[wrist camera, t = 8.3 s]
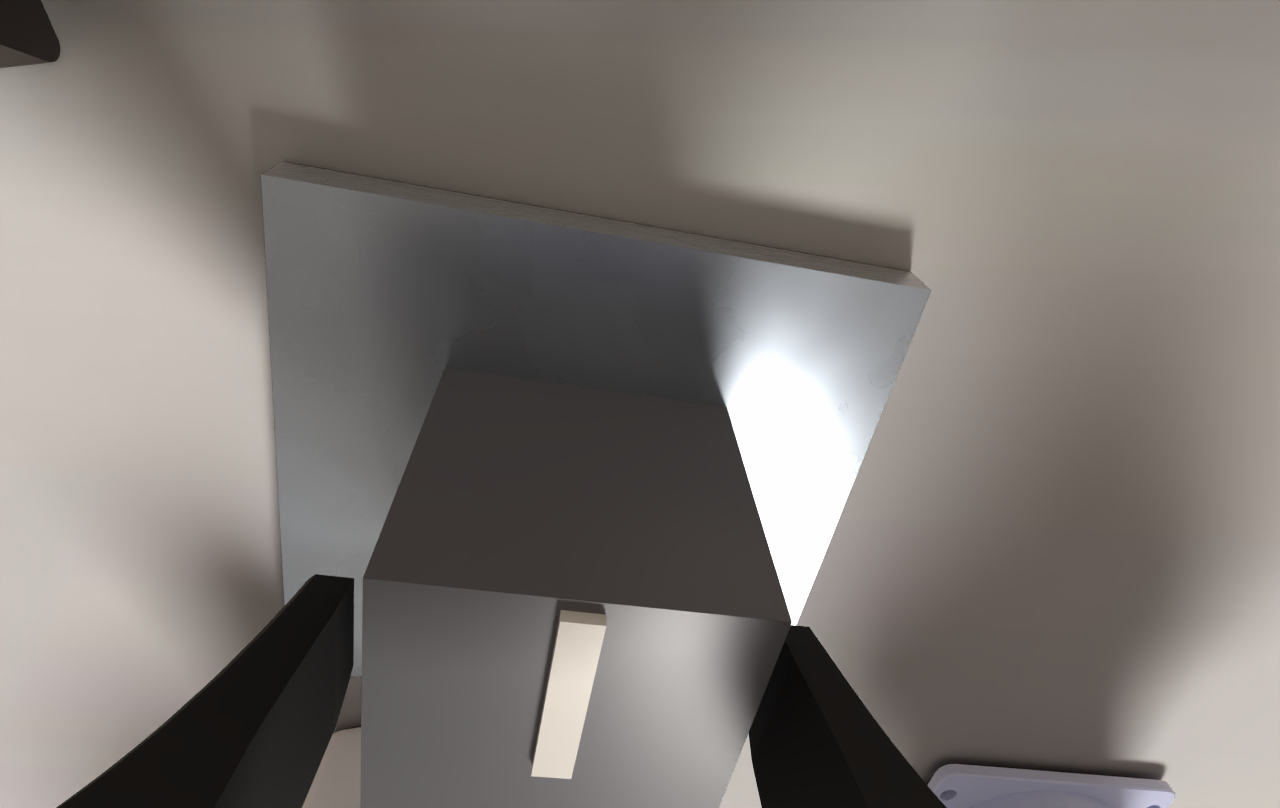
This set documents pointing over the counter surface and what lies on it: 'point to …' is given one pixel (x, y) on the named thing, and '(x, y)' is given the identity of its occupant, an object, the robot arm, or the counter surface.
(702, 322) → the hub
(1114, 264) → the counter surface
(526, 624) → the grey cube with stripe
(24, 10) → the phone stand
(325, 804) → the eye dropper bottle
